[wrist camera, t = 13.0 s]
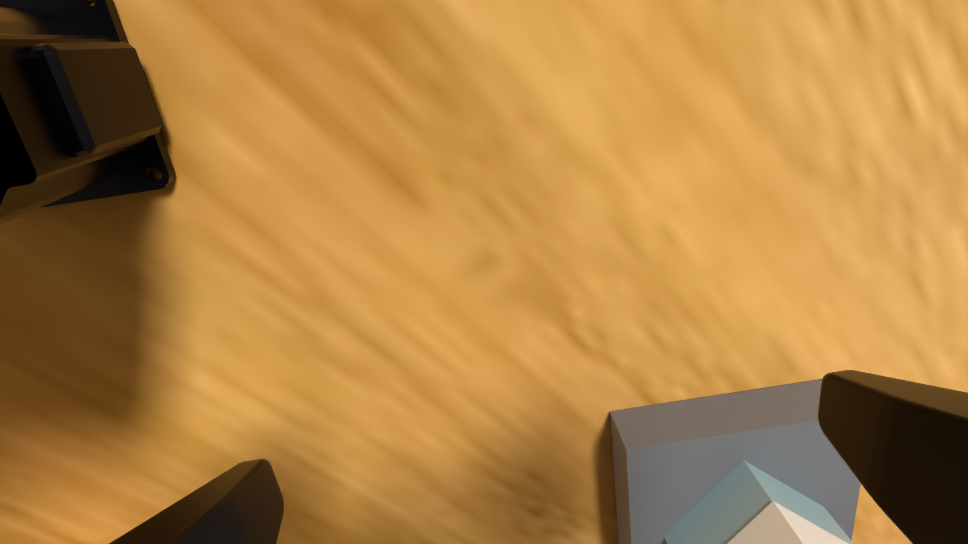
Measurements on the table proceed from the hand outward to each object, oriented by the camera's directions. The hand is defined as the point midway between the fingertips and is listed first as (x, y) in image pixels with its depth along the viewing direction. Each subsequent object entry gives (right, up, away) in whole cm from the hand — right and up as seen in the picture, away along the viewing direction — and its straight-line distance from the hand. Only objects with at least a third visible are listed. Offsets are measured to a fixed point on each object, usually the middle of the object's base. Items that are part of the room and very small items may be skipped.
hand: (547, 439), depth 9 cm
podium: (+10, -7, +18) cm, 22 cm away
